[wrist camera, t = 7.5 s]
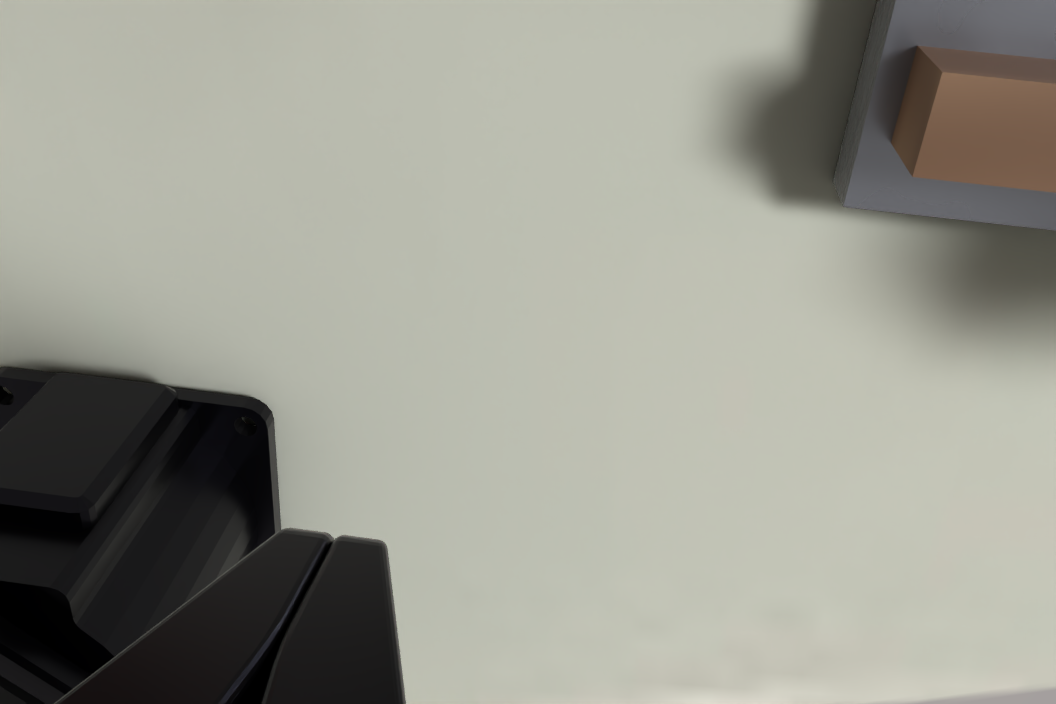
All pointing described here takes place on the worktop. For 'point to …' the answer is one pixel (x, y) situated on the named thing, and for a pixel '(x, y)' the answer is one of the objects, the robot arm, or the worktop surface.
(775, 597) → the worktop surface
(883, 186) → the plate
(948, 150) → the beam
